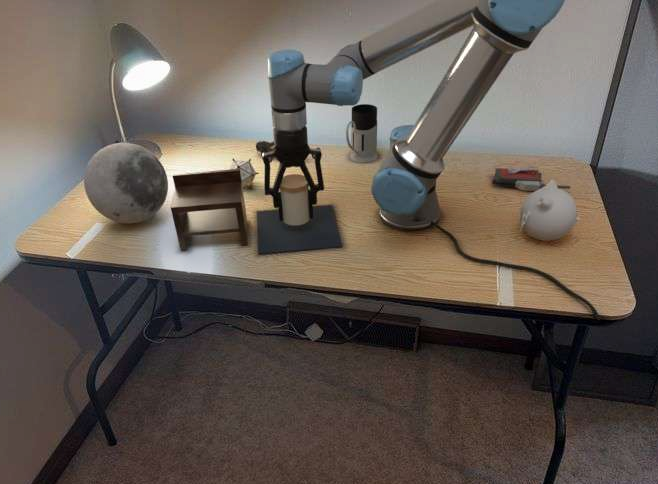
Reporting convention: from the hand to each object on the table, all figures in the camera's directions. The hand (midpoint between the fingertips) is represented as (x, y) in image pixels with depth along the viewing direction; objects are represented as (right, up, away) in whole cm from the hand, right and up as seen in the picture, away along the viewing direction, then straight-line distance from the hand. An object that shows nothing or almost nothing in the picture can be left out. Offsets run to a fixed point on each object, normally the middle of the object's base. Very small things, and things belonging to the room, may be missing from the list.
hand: (296, 216), depth 133 cm
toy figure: (-7, +24, +37) cm, 44 cm away
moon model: (-43, +1, +10) cm, 44 cm away
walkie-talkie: (+64, +11, +16) cm, 66 cm away
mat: (0, -3, +2) cm, 4 cm away
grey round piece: (+59, -6, -5) cm, 60 cm away
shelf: (-20, -5, +1) cm, 21 cm away
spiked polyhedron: (-16, +11, +21) cm, 29 cm away
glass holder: (+18, +22, +33) cm, 43 cm away
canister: (0, 0, 0) cm, 1 cm away
